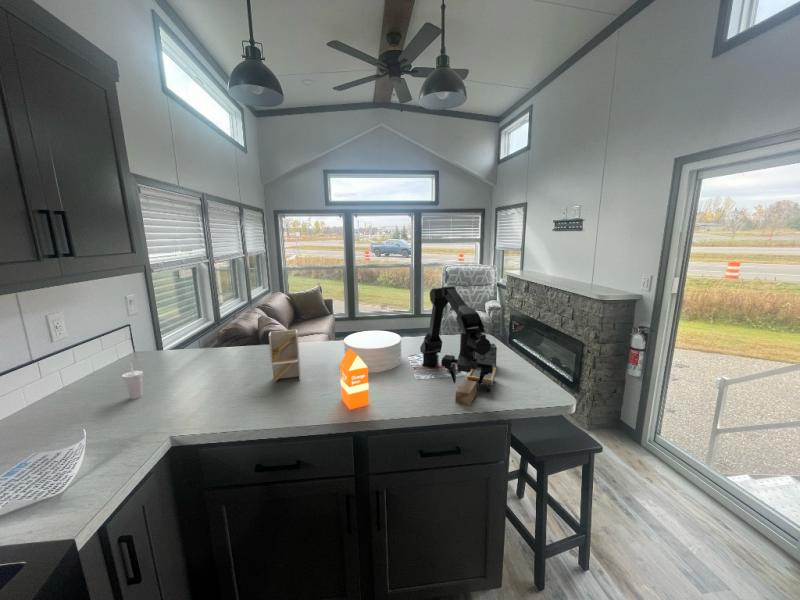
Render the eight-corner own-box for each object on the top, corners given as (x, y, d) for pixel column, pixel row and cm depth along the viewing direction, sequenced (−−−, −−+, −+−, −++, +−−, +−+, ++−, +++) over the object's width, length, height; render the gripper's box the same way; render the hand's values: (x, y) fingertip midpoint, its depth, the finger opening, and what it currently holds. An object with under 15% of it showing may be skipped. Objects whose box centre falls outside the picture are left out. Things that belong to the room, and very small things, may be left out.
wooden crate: (273, 379, 143) (268, 323, 138) (300, 376, 146) (296, 321, 141) (271, 387, 136) (266, 328, 130) (300, 383, 139) (296, 326, 134)
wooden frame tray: (466, 390, 131) (467, 376, 129) (472, 376, 143) (473, 363, 142) (491, 394, 127) (492, 380, 126) (495, 379, 140) (496, 367, 139)
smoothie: (130, 402, 124) (123, 367, 121) (123, 398, 127) (116, 364, 124) (149, 395, 129) (143, 362, 126) (142, 391, 132) (136, 358, 130)
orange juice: (349, 409, 117) (346, 356, 113) (341, 399, 125) (338, 349, 121) (369, 404, 121) (367, 352, 117) (360, 394, 128) (358, 345, 124)
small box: (493, 363, 157) (494, 343, 155) (496, 369, 150) (497, 347, 148) (471, 363, 158) (472, 342, 156) (473, 368, 151) (473, 347, 149)
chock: (455, 403, 121) (455, 391, 120) (463, 390, 130) (464, 379, 129) (468, 406, 119) (469, 393, 118) (476, 393, 128) (476, 381, 127)
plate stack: (400, 350, 177) (400, 329, 174) (402, 371, 149) (402, 347, 147) (348, 351, 176) (347, 331, 173) (341, 373, 148) (339, 349, 146)
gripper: (437, 349, 116) (437, 390, 119) (491, 356, 109) (489, 399, 113) (445, 340, 126) (444, 377, 130) (495, 345, 120) (493, 385, 123)
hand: (466, 384), depth 123 cm, fingers open, 9 cm apart
